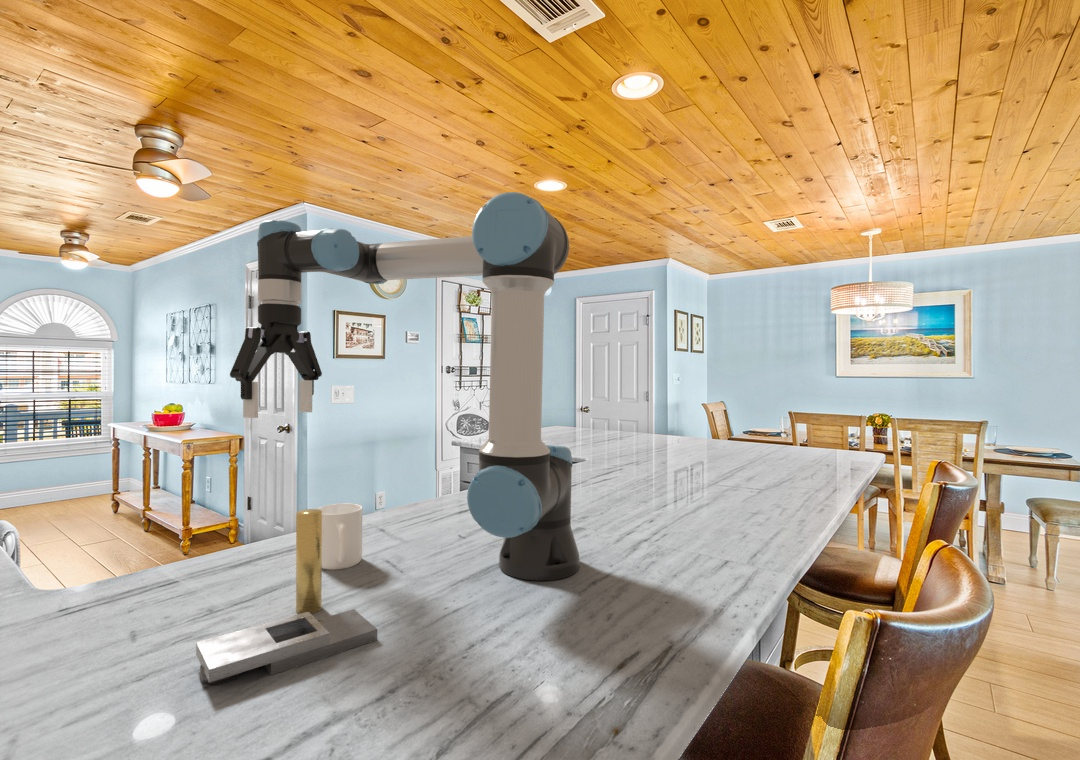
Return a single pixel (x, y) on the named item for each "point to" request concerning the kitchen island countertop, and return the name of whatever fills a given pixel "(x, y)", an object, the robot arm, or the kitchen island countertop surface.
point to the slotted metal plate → (281, 644)
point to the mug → (341, 535)
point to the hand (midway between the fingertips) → (279, 414)
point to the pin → (308, 561)
